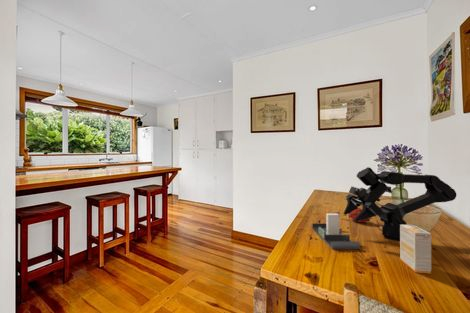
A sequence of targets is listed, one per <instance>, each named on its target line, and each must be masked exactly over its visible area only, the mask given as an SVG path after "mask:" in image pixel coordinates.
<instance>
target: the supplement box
mask: <svg viewBox="0 0 470 313" xmlns="http://www.w3.org/2000/svg"><path fill="white" fill-rule="evenodd" d="M399 244H400V245H399V246H400V247H399V249H400V250H399V251H400V252H399V254H400V255H399V256H400V257H399V260H400V261H401V262H402V263H404V264H405V265H406V266H407V267H408V268H410V270H412V271H414V273H416V274H428V275H432V233H430V232H429V231H427V230H425V229H422V228H421V227H418V226H416V225H414V224H406V225H400V241H399Z"/></svg>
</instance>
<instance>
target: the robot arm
mask: <svg viewBox="0 0 470 313" xmlns="http://www.w3.org/2000/svg"><path fill="white" fill-rule="evenodd" d="M356 178H358V180H360V182H362V183H363V184H364V185H365V186H366V187H368V186H369V187H368V188H364V187H355V186H350V189H349V190H348V193H349V194H347V195H346V197H345V198H346V201H347V204H346V207H345V209H344V211H343V214H344V215H349V213H350V212H352V211H354V210H356V209H357V208H360V206H361V207H362V208H361V209H362V211H361V212H360V213H359V214H358V216H357V217H356V218H355V221H356V222H358V221H360V220H363V219H366V218H370V217H371V218H373V217H379V220H380V221H381V222H383V224H382V225H381V226H382V230H381V231H382V236H383V238H384V239H387V240H393V241H397V242H400V225H408V224H407V221H405V220H404V218H405V215H407V214H410V213H412V212H415V211H417V210H420V209H423V208H425V207H427V206H431V205H433V204H436V203H448V202H452V201H454V200H455V199H456V198H457V192H456V190H455V189H454V188H452V187H451V186H450V185H449V184H448V183H446V182H445V181H443V180H441V179H440V177H438V176H437V175H433V174H412V173H411V174H406V173H400V172H396V171H389V170H382V171H381V172H379V173H376V172H375V171H374V170H373V169H372V167H369V166H368V167H366V168H364V169H362V170H360V171H359V172H357V174H356ZM406 183H409V184H424V187H425V192H424V194H421V195H417V196H416V197H413V198H411V199H408V200H406V201H403V202H400V203H398V204H395V203H393V202H392V203H391V202H387V203H385V204H383V205H380V206H378V204H377V203H376V202H380V201H381V199H380V198H381V197H382V196H383V195H384V194H385V193H389V194H392V193H393V191H392V187H391V185H392V186H396V185H402V184H406ZM388 185H389V186H388Z"/></svg>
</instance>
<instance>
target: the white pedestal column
mask: <svg viewBox="0 0 470 313" xmlns="http://www.w3.org/2000/svg"><path fill="white" fill-rule="evenodd" d="M325 214H326V217H325V219H326V222H325V223H326V235H339V228H340V213H335V212H334V213H325Z"/></svg>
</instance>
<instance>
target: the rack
mask: <svg viewBox="0 0 470 313" xmlns="http://www.w3.org/2000/svg"><path fill="white" fill-rule="evenodd" d="M311 229H312V230H313V231H314V232H315V234H316V235H318V236H319V238H321V240H322V241H324V242H325V243H326V245H328V247H329V248H330V249H332V250H360V249H361V248H360V241H353V240H351V238H350V236H351V235H350V234H346V233H345V234H343V233H342V228H341V227H339V235H326V222H324V223H323V222H322V223H318V222H317V223H313V222H312V223H311Z"/></svg>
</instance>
